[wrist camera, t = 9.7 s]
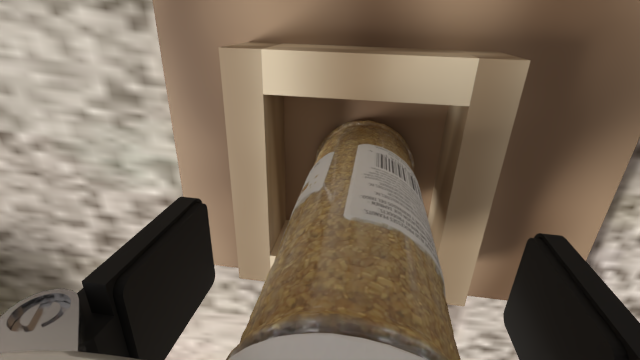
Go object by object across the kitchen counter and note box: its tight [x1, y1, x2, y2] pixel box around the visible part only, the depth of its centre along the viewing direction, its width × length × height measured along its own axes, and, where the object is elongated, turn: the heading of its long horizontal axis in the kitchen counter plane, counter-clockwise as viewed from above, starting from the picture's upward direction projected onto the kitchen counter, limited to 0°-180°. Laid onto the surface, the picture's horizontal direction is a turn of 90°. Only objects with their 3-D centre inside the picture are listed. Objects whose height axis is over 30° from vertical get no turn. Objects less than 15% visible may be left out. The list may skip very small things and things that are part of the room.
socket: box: [219, 42, 531, 306], centre depth 15 cm, size 10×10×3 cm
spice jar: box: [226, 120, 460, 360], centre depth 10 cm, size 5×5×13 cm
